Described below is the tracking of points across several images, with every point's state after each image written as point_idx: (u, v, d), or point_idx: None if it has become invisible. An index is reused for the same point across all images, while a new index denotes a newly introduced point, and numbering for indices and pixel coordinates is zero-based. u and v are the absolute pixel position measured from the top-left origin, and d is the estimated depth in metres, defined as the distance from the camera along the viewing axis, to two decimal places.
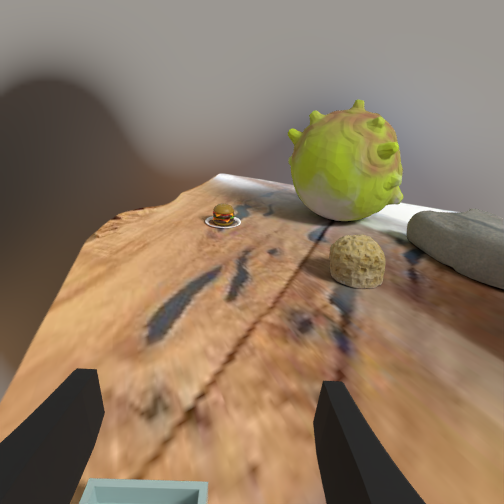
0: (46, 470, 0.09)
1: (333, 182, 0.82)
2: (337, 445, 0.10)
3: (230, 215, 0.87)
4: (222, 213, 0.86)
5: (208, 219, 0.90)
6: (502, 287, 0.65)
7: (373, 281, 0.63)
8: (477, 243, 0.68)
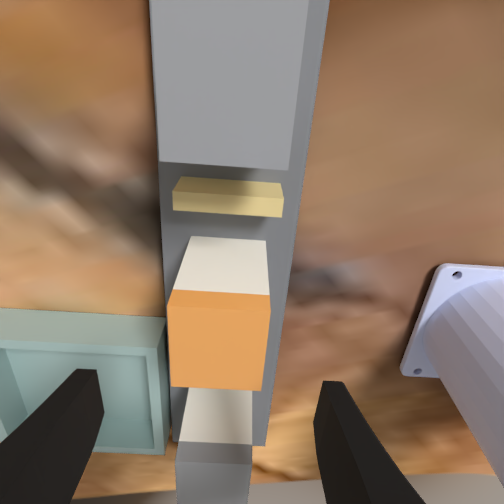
0: (46, 471, 0.09)
1: None
2: (337, 445, 0.10)
3: None
4: None
5: None
6: None
7: None
8: None
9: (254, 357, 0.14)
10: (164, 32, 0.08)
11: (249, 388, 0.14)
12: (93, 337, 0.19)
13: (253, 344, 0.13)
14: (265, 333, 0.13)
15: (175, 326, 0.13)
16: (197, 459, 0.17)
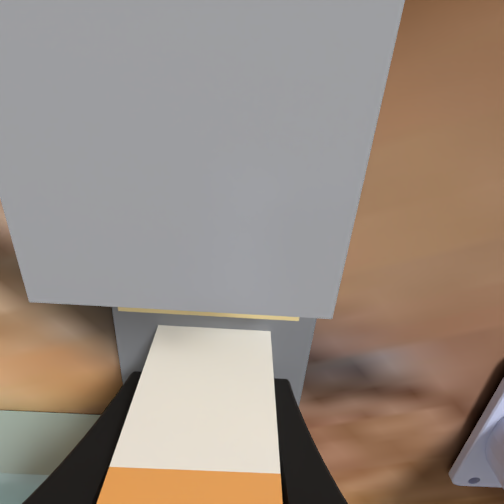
0: None
1: None
2: None
3: None
4: None
5: None
6: None
7: None
8: None
9: None
10: None
11: None
12: (22, 458, 0.13)
13: None
14: None
15: None
16: None
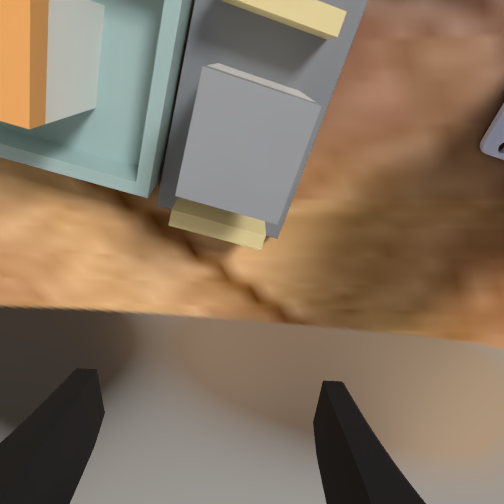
0: (46, 471, 0.09)
1: None
2: (337, 445, 0.10)
3: None
4: None
5: None
6: None
7: None
8: None
9: (15, 64, 0.10)
10: None
11: (13, 121, 0.11)
12: None
13: (12, 38, 0.10)
14: (26, 19, 0.10)
15: None
16: (238, 77, 0.10)
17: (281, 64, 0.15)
